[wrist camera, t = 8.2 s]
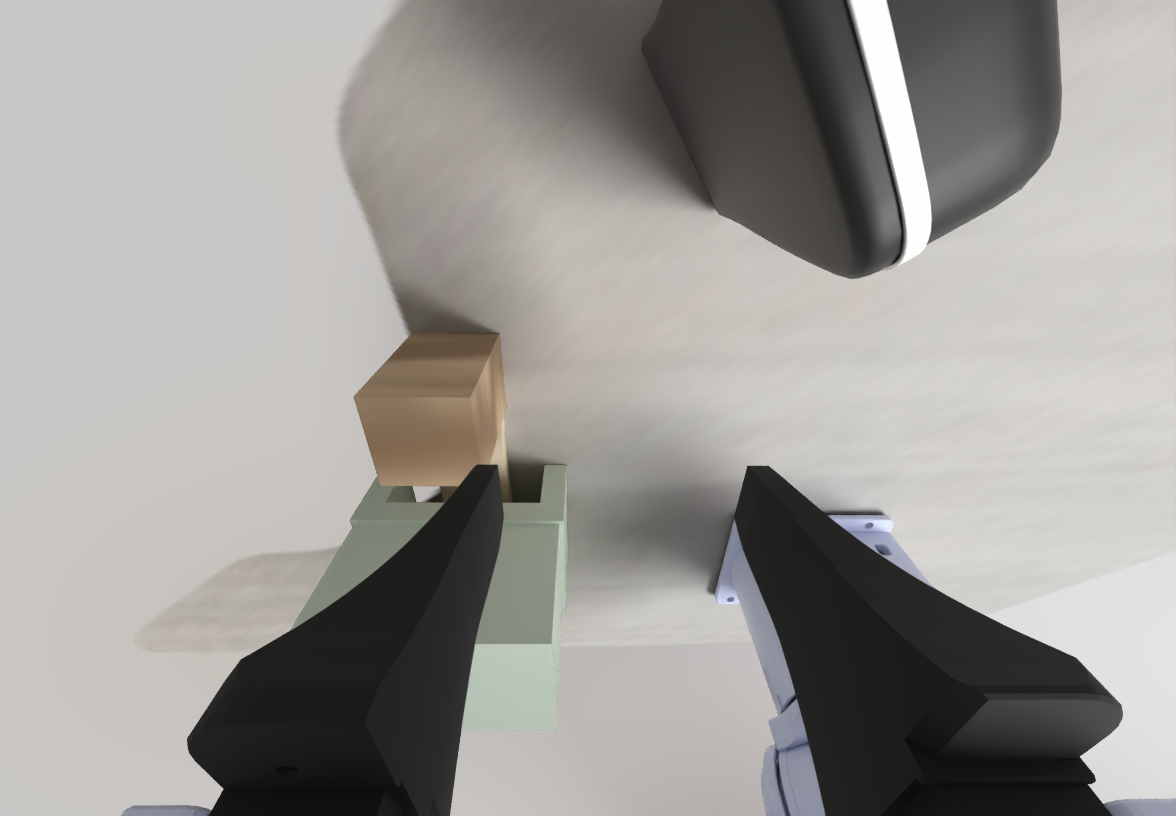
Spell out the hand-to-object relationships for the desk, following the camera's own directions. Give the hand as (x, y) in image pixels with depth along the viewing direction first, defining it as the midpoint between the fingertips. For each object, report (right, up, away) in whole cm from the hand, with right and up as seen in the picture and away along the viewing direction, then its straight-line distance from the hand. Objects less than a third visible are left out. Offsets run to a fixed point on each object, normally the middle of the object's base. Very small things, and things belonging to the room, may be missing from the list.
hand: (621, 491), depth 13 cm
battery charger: (+4, +13, +3) cm, 14 cm away
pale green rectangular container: (-7, -4, +13) cm, 15 cm away
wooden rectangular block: (-7, 0, +11) cm, 13 cm away
